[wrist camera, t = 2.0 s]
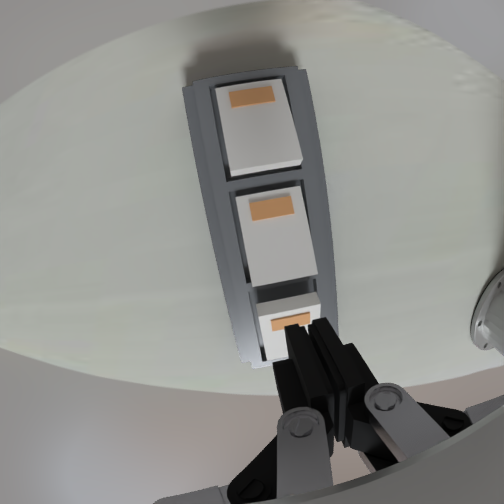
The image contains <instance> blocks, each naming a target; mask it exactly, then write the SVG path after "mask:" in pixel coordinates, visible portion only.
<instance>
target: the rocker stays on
mask: <svg viewBox="0 0 504 504" xmlns="http://www.w3.org/2000/svg"><path fill="white" fill-rule="evenodd" d="M215 90H216V96H217V101H218V107H219V112H220V118H221V123H222V129H223V134H224V140H225V145H226V151H227V156H228V162H229V167H230V172H231V177H232V176H237V175H243V174H248V173H254V172H260V171H266V170H272V169H278V168H284V167H291V166H297V165H300V164H301V162H302V160H303V157H302V153H301V149H300V145H299V141H298V137H297V133H296V129H295V126H294V122H293V118H292V114H291V111H290V107H289V104H288V100H287V97H286V93H285V90H284V86H283V83H282V80H281V79H275V80H266V81H258V82H251V83H244V84H238V85H232V86H226V87H220V88H215Z"/></svg>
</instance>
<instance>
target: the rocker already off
mask: <svg viewBox="0 0 504 504" xmlns="http://www.w3.org/2000/svg"><path fill="white" fill-rule="evenodd" d="M256 307H257V313H258V318H259V323H260V328H261V333H262V338H263V343H264V348H265V353H266V358H267V361H269V360H274V359H279V358H284V357H288V351H287V344H286V337H285V330H284V326H288V325H293V324H297V323H298V324H299V326H305V328H306V331H307V333H308V325H309V324H312V320H314V319H318V318H320V309H321V303H320V301H319V298H318V295H317V293H316V292H313V293H308V294H303V295H298V296H294V297H289V298H284V299H279V300H274V301H269V302H264V303H258V304H256Z"/></svg>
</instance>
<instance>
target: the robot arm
mask: <svg viewBox="0 0 504 504" xmlns="http://www.w3.org/2000/svg"><path fill="white" fill-rule="evenodd" d="M284 330H285V337H286V344H287V351H288V358H289V359H285V360H281V361H276V362H272V364H273V370H274V375H275V380H276V385H277V390H278V394H279V398H280V402H281V407H282V411H283V415H282V416H281V418H280V419H279V420H278V425H277V435H276V437H275V438H274V439H273V440H272V441H271V442H270V443H269V444H268V445H267V446H266V447H265V448H264V450H262V452H260V453H259V455H257V457H256V458H255V459H254V460H253V461H252V462H251V463H250V464H249V465H248V466H247V467H246V468H245V469H244V470H243V471H242V472H240V473H239V474H238V475H237V476H236V477H235V478H234V479H233V480H232V482H231V483H230V484H229V485H226V486H222V487H218V486H214V487H210V488H206V489H202V490H198V491H194V492H190V493H185V494H181V495H176V496H171V497H166V498H162V499H159V500H157V501H156V502H155V503H153V504H504V395H502V396H499V397H497V398H494V399H491V400H489V401H486V402H483V403H480V404H477V405H475V406H471V407H468V408H466V409H465V411H464V412H462V411H459V410H456V409H450V408H445V407H439V406H434V405H429V404H424V403H419V402H416V401H415V400H414V399H413V398H412V397H411V396H410V395H409V394H408V393H407V392H406V391H405V390H404V389H403V388H402V387H400V386H399V385H396V384H393V383H380V384H379V383H378V382H377V380H376V379H375V377H374V375H373V374H372V372H371V371H370V369H369V367H368V366H367V364H366V363H365V361H364V360H363V358H362V356H361V355H360V353H359V352H358V350H357V349H356V347H355V346H354V344H353V343H349V344H346V345H343V344H342V342H341V341H340V339H339V337H338V336H337V334H336V332H335V331H334V329H333V327H332V326H331V324H330V322H329V321H328V319H327V318H326V317H323V318H318V319H314V320H312V324H309V325H308V333H307V331H306V328H305V326H299V324H298V323H297V324H293V325H288V326H284ZM471 338H472V341H473V343H474V344H475V345H476V346H477V347H478V348H479V349H481V350H489V349H492V348H494V347H495V348H496V349H497V350H498V351H499V352H500V353H501V354H502V355H503V356H504V269H503V270H502V271H501V272H500V273H499V274H497V275H496V277H495V278H494V279H493V280H492V281H491V283H490V284H489V285H488V287H487V288H486V290H485V291H484V293H483V295H482V297H481V299H480V301H479V303H478V305H477V308H476V310H475V313H474V316H473V320H472V326H471ZM334 436H335V438H336V441H337V442H339V441H342V443H343V445H344V448H346V447H349V446H350V448H352V449H355V450H358V453H359V456H360V458H361V459H362V460H363V462H364V463H365V465H366V466H367V468H368V469H369V471H370V472H371V474H368V475H365V476H363V477H360V478H357V479H354V480H351V481H347V482H344V483H341V484H337V485H334V486H333V480H332V471H331V464H330V457H331V456H332V454H333V447H334Z"/></svg>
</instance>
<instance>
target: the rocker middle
mask: <svg viewBox="0 0 504 504" xmlns="http://www.w3.org/2000/svg"><path fill="white" fill-rule="evenodd" d="M235 198H236V203H237V208H238V214H239V219H240V224H241V230H242V235H243V240H244V245H245V251H246V256H247V261H248V266H249V272H250V277H251V282H252V287H256V286H261V285H266V284H271V283H276V282H281V281H286V280H291V279H296V278H301V277H306V276H311V275H316V274H318V271H317V266H316V261H315V255H314V250H313V245H312V240H311V235H310V230H309V225H308V220H307V215H306V210H305V206H304V201H303V196H302V192H301V187H300V186H296V187H290V188H284V189H278V190H272V191H266V192H261V193H255V194H250V195H244V196H239V197H235Z"/></svg>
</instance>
